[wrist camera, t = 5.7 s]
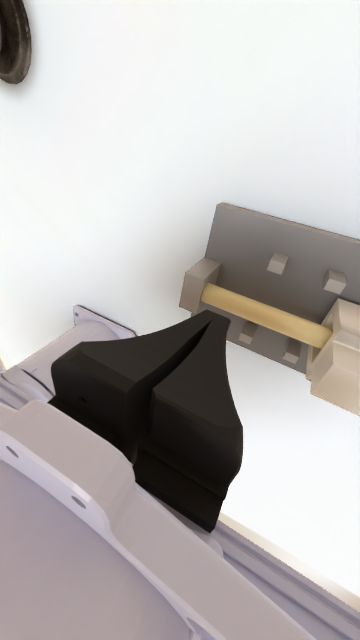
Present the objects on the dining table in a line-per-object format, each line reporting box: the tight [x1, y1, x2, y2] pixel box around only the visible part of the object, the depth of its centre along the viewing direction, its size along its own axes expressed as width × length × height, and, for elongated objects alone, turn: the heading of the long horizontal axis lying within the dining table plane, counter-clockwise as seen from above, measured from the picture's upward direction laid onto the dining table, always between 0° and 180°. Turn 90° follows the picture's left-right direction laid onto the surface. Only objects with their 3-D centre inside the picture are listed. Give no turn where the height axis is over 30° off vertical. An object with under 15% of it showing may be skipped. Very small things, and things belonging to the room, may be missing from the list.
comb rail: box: [179, 203, 360, 374], centre depth 14 cm, size 9×15×4 cm, turn 80°
